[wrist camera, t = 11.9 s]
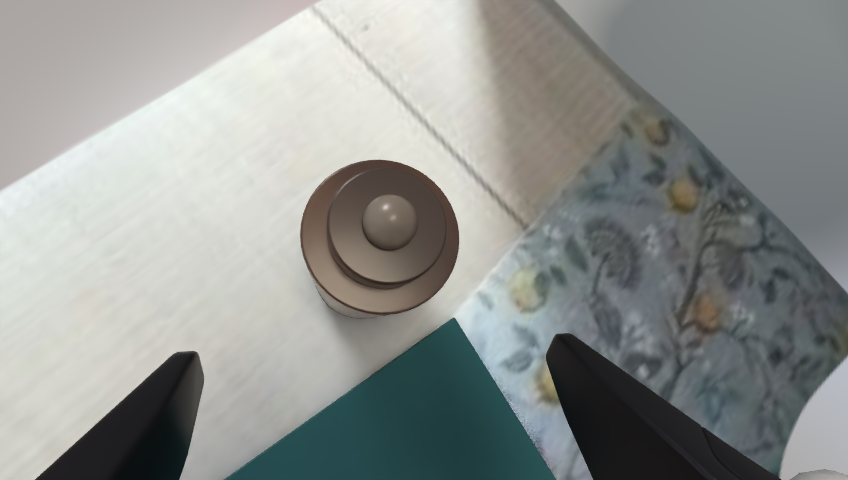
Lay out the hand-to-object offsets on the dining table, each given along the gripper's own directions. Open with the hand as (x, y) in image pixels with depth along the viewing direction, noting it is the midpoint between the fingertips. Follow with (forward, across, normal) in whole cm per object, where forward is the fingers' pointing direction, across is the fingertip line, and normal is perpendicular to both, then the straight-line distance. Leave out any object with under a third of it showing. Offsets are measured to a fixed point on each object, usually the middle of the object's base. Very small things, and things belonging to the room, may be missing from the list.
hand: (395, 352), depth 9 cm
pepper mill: (+10, 0, +5) cm, 11 cm away
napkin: (+2, -2, +13) cm, 14 cm away
